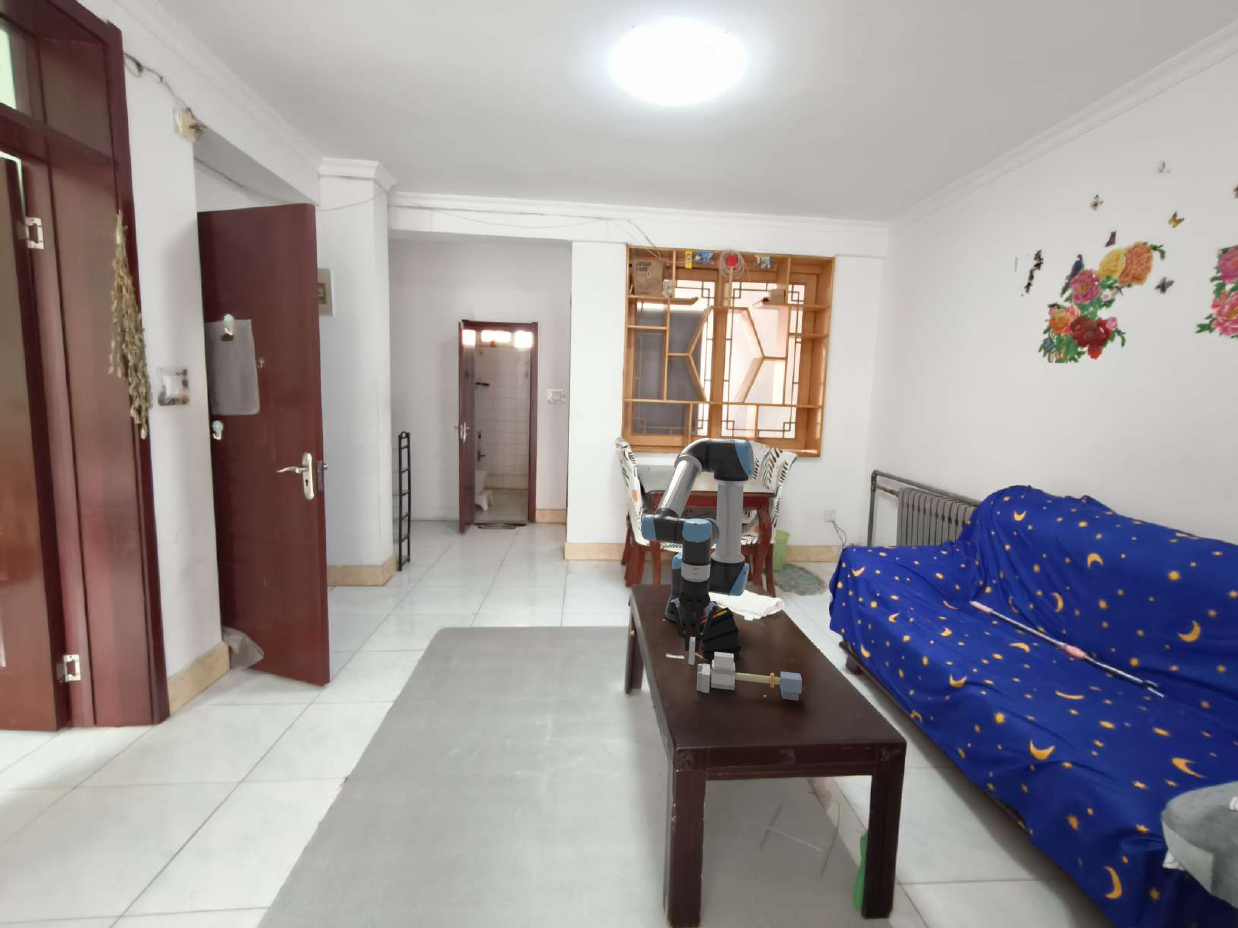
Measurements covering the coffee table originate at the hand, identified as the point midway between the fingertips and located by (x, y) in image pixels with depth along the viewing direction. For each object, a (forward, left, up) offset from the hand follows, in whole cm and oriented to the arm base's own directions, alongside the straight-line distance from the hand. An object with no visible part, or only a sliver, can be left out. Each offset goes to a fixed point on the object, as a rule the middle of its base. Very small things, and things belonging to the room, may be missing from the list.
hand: (691, 661), depth 147 cm
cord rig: (0, +15, -7) cm, 16 cm away
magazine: (-19, +7, -7) cm, 21 cm away
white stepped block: (0, +8, -5) cm, 10 cm away
